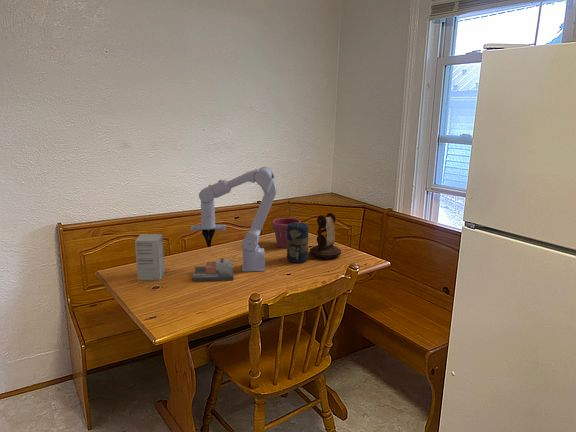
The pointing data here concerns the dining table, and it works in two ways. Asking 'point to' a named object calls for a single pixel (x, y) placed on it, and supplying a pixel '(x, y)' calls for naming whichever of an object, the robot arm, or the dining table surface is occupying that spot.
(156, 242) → the supplement box
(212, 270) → the tall terracotta prism
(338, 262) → the dining table surface
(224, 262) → the housing
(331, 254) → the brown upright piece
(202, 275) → the press bed
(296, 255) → the canister
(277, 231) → the plant pot
